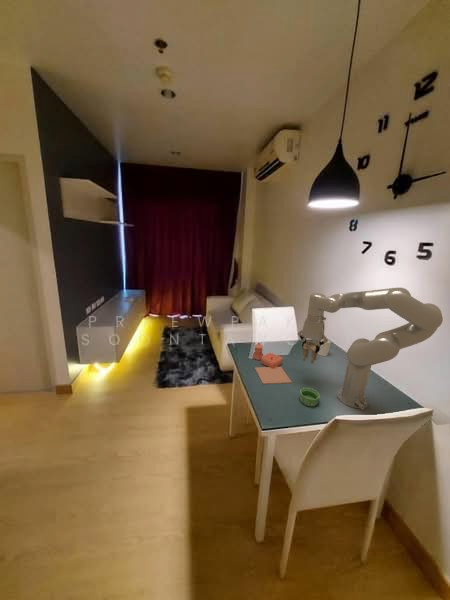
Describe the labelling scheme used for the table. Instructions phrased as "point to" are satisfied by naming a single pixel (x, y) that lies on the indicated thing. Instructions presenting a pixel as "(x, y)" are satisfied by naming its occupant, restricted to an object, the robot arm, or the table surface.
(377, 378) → the table surface
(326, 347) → the white cup
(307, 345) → the stool
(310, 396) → the ramekin
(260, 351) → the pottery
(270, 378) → the mat
